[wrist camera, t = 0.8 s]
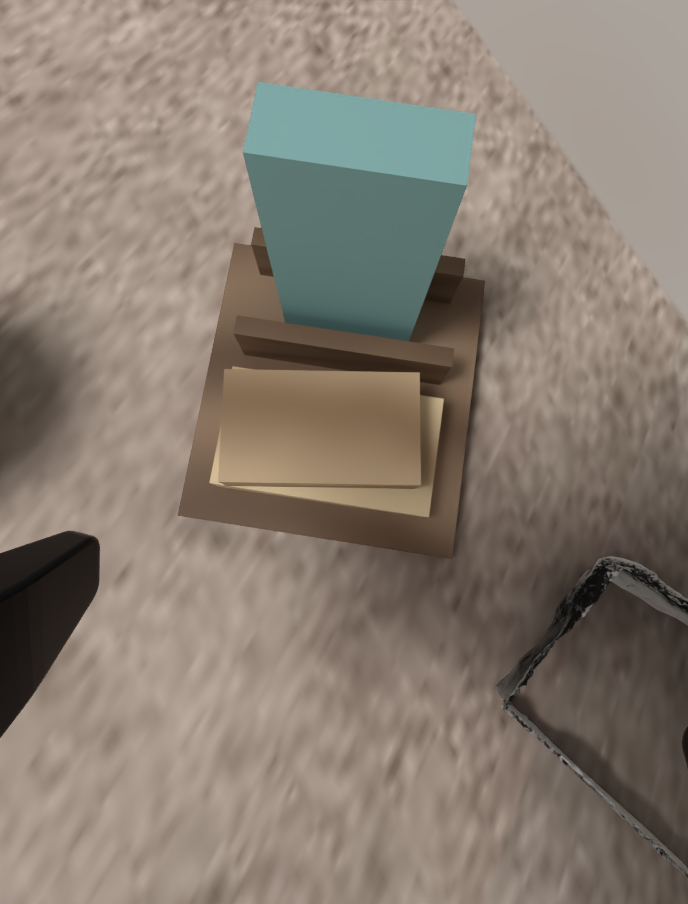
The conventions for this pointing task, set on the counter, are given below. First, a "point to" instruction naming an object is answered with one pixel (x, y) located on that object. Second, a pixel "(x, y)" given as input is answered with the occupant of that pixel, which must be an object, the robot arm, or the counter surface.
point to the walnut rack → (317, 349)
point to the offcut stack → (330, 438)
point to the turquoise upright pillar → (354, 203)
